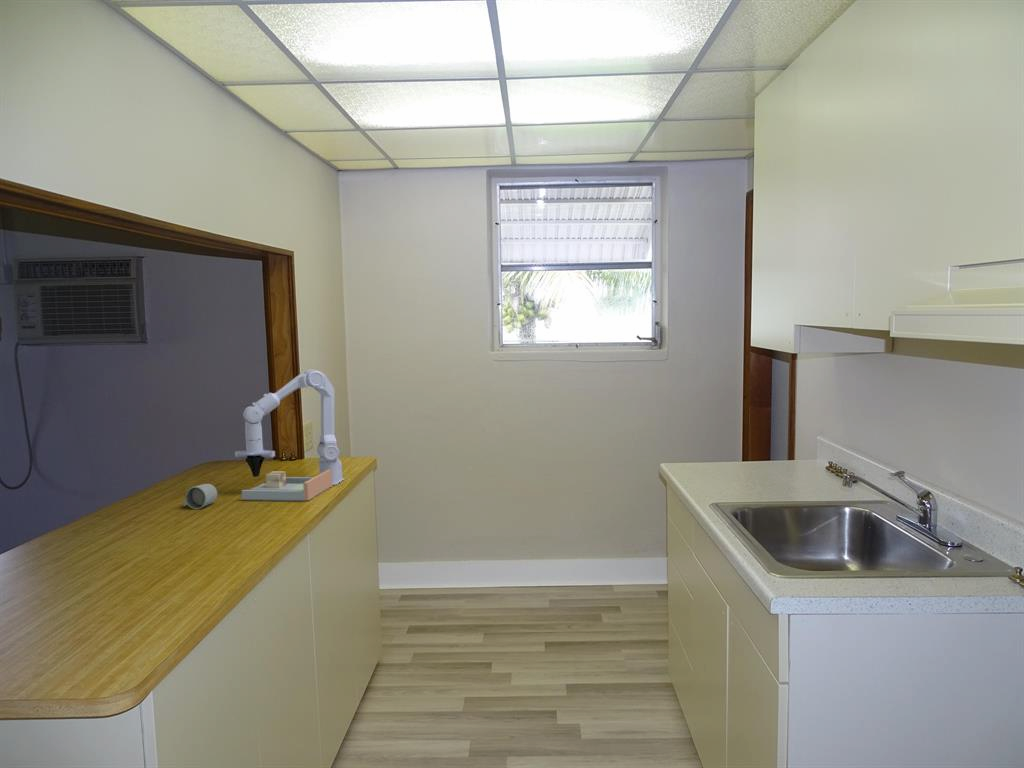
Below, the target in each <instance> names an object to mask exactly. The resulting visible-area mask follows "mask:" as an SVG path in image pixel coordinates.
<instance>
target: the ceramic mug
mask: <svg viewBox="0 0 1024 768" xmlns="http://www.w3.org/2000/svg"><path fill="white" fill-rule="evenodd" d="M184 495H185V497H184V499H185V500H184V501H182V505H183V507H187V506H188V507H189V508H191V509H193V510H200V509H202V508H205V507H207V506H209V505H210V504H213V503H214V502H215V501H216V499H217V498H218V490H217V488H216V487H215V485H213V484H211V483H203V484H199V485H194V486H191V487H190V488H189V489H187V490H186V493H185V494H184Z"/></svg>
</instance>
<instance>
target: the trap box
mask: <svg viewBox="0 0 1024 768" xmlns="http://www.w3.org/2000/svg"><path fill="white" fill-rule="evenodd" d="M331 486H334V485H333V482H332V470H326V471H325V472H323V473H321V474H320V473H319V474H317V475H316V476H312V477H310V476H302V477H301V476H286V485H285V486H283V487H281V488H266V482H265V483H264V482H263V483H261V484H259V485H257V486H254V487H252V488H251V489H242V490H241V501H242V500H259V501H258V502H301V501H308V502H310V501H312V500H313V499H315V498H316V496H317V495H318V496H320V495H321V493H322V492H323V493H325V492H326V491H328V490H329V489H328V488H330V487H331ZM331 488H332V487H331ZM331 488H330V489H331ZM327 489H328V490H327ZM325 490H326V491H325ZM324 491H325V492H324ZM323 493H322V494H323ZM319 494H320V495H319ZM318 496H317V497H318ZM314 497H315V498H314ZM312 498H313V499H312ZM311 499H312V500H311ZM260 500H262V501H260ZM309 500H310V501H309Z"/></svg>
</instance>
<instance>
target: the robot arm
mask: <svg viewBox="0 0 1024 768" xmlns="http://www.w3.org/2000/svg"><path fill="white" fill-rule="evenodd" d="M309 387H311V388H312V389H314V390H315V391H317V392H318V393H319V394H320V437H319V443H318V445H317V448H316V451H317V454H318V456H320V457H319V458H318V466H319V467H318V470H319V471H318V472H319V474H321V473H323V472H325V471H326V470H332V482H333V486H336V485H338V484H340V483H341V482H343V481H344V479H346V478H343V464H342V461H341V460H340V459H339V455H340V449H339V447H338V444H337V442H338V441H337V438H336V436H335V434H336V433H335V431H336V430H335V429H336V428H335V426H336V425H335V417H336V416H335V388H334V386H333V384H332V383H331V382H330V380H329V379H328V377H327V375H326V374H325V373H323V372H322V371H320V370H315V369H313V368H312V369H310V368H309V369H306V370H304V372H302V373H299V374H298V375H297V376H295V377H294V378H293V379H291V380H290V381H289V382H288V383H286V384H285V385H284V386H283V387H281V388H279V389H278V390H277V391H276V392H273V393H272V392H268V393H264V394H263V395H262V397H261V398H260V399H258V400H257V401H256V402H252V404H251V406H247V407H246V408H245V409H244V411H243V413H242V417H243V419H244V426H245V427H244V435H245V448H246V450H235V451H234V457H235V458H239V457H245V458H244V459H245V460H244V461H245V462H246V463H247V465H248V467H249V469H250V470H251V474H252V477H253V478H254V477H255V478H256V477H259V476H260V475H261V474H260V473H261V468H262V465H263V463H264V460H265V458H266V457H269V458H274V457H276V451H275V450H269V449H268V450H266V449H264V444H263V427H262V420H263V417H264V416H267V415H268V414H269V413H271V412H272V411H273V410H275V409H276V408H277V407H279V406H280V403H281V400H283V399H284V398H285V397H287V396H289V395H290V394H292V393H293V392H295V391H296V390H298V389H302V388H303V389H304V388H309ZM342 480H343V481H342ZM339 482H340V483H339Z"/></svg>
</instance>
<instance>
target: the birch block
mask: <svg viewBox="0 0 1024 768" xmlns="http://www.w3.org/2000/svg"><path fill="white" fill-rule="evenodd" d="M286 477H287V476H286V471H282V470H281V471H277V470H276V471H273V470H272V471H270V472H269V473H266V474H265V483H266V488H281V487H283V486H285V485H286Z"/></svg>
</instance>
